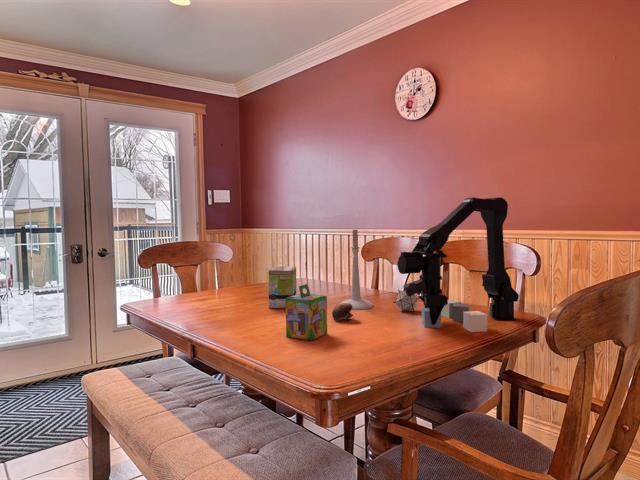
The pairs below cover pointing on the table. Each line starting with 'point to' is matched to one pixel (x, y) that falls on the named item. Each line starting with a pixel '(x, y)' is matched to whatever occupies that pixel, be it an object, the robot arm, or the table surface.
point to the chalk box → (306, 315)
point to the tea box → (281, 285)
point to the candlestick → (356, 280)
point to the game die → (406, 301)
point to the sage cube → (448, 309)
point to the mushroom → (342, 311)
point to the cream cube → (475, 321)
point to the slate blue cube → (427, 321)
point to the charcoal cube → (459, 311)
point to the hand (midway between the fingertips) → (431, 321)
